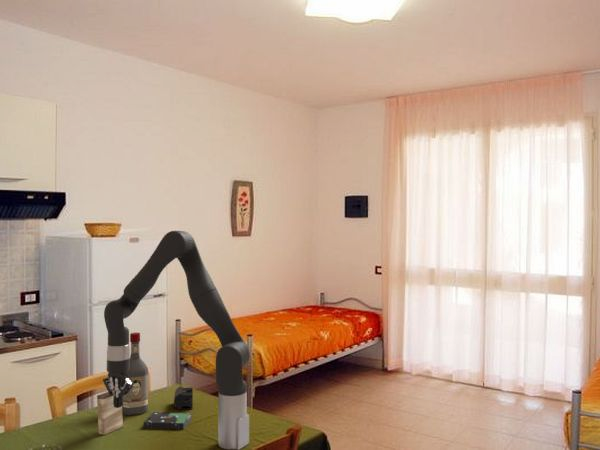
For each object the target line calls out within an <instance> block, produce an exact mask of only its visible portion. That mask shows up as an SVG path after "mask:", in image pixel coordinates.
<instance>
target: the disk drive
mask: <svg viewBox="0 0 600 450" xmlns="http://www.w3.org/2000/svg"><path fill="white" fill-rule="evenodd" d="M192 419H193V415H192V413H187V412H161V411H160V412H159V411H154V412H152V413H151V414H150V415H149V416H148V417H147V419H145V420H144V421H143V429H155V430H157V429H160V430H162V429H164V430H185V428H186V427H187V426H188V425H189V424H190V422H191V421H192Z"/></svg>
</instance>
